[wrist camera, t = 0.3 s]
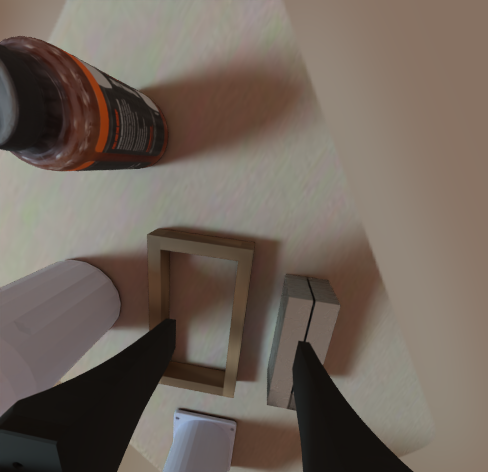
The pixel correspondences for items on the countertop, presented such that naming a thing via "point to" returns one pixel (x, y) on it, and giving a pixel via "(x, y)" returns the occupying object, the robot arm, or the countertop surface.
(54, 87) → the supplement bottle
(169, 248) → the brown rectangular open frame
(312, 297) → the grooved grey block
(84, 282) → the soap bottle
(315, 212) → the countertop surface
